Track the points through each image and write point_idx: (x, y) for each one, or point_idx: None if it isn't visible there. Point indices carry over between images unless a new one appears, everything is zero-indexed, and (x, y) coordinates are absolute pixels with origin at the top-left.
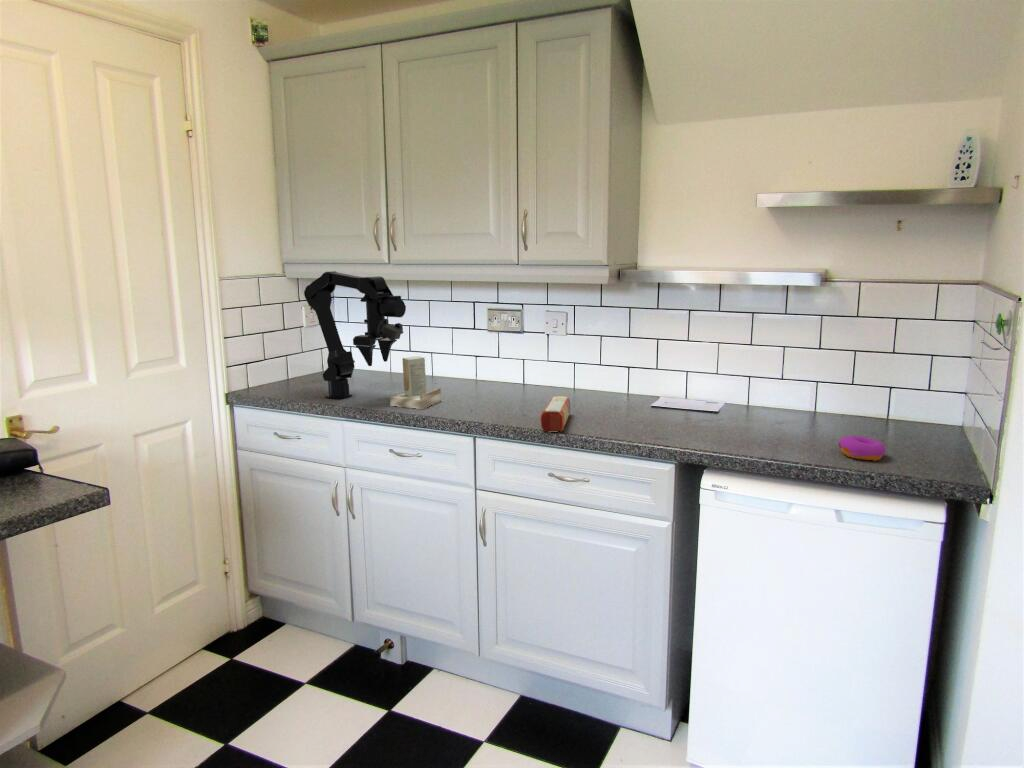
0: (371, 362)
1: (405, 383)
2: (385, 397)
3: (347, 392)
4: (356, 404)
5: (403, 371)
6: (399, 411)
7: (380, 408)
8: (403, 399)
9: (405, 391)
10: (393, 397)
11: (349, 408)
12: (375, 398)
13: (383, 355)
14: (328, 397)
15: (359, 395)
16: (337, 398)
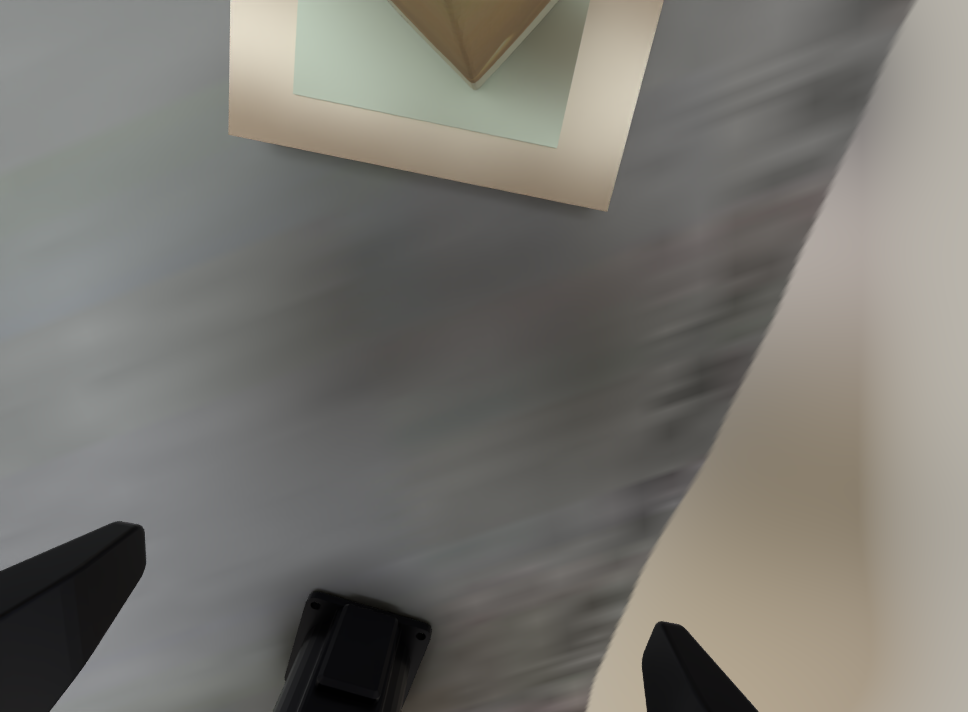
0: (715, 679)
1: (516, 19)
2: (283, 364)
3: (360, 627)
4: (547, 484)
5: (475, 9)
6: (778, 45)
7: (664, 267)
8: (651, 37)
9: (502, 57)
10: (607, 175)
11: (673, 487)
12: (336, 424)
13: (47, 678)
14: (407, 690)
15: (279, 554)
16: (428, 639)
